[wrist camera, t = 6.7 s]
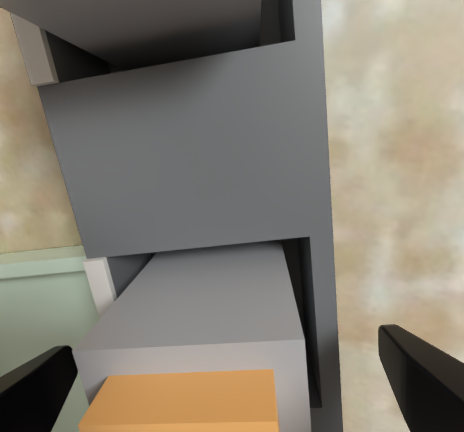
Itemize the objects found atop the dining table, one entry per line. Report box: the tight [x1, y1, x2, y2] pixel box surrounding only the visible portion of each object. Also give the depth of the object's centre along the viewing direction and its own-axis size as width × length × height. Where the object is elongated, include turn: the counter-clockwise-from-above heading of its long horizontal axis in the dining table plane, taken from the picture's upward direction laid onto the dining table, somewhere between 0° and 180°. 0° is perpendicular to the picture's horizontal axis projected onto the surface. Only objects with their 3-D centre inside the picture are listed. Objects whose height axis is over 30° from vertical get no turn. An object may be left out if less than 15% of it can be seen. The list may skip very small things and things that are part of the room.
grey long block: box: [10, 0, 343, 432], centre depth 9 cm, size 22×7×4 cm, turn 8°
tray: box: [0, 245, 99, 432], centre depth 14 cm, size 12×9×2 cm
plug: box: [72, 239, 311, 432], centre depth 8 cm, size 4×4×7 cm
